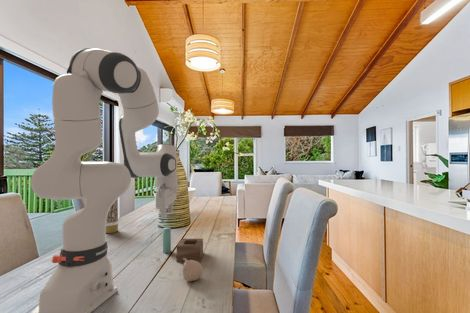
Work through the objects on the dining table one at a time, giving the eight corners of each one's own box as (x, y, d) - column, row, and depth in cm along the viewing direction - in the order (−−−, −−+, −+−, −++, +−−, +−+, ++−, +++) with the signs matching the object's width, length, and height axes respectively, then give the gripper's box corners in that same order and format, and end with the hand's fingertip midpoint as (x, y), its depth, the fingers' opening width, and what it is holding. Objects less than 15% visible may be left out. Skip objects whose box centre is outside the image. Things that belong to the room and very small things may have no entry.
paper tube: (112, 234, 135) (112, 186, 135) (101, 233, 136) (100, 186, 136) (120, 230, 142) (120, 185, 142) (109, 229, 143) (109, 184, 143)
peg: (169, 253, 107) (169, 229, 107) (162, 253, 107) (161, 229, 107) (171, 250, 111) (171, 227, 111) (164, 250, 111) (164, 227, 111)
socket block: (200, 261, 99) (200, 246, 99) (176, 261, 99) (176, 246, 98) (203, 252, 108) (202, 238, 108) (181, 253, 108) (181, 238, 108)
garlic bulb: (185, 275, 87) (185, 251, 87) (204, 275, 87) (203, 251, 87) (180, 285, 81) (180, 259, 81) (200, 285, 81) (200, 259, 81)
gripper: (167, 186, 99) (168, 221, 99) (179, 179, 119) (179, 209, 119) (151, 186, 99) (151, 221, 99) (165, 179, 119) (166, 209, 119)
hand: (167, 214), depth 109 cm, fingers open, 8 cm apart
